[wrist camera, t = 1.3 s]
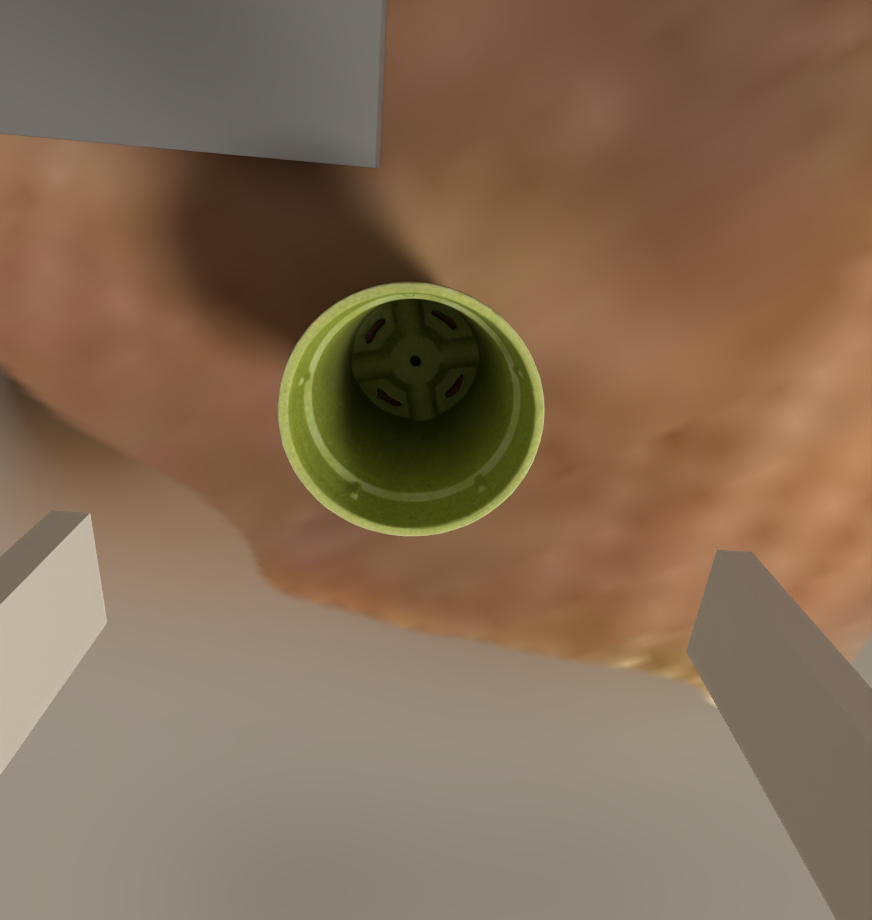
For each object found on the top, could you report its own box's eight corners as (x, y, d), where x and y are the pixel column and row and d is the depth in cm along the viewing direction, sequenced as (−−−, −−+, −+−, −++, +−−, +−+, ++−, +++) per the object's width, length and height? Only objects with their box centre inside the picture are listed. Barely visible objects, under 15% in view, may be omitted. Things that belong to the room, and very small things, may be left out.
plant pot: (278, 384, 31) (229, 457, 23) (382, 209, 28) (367, 223, 20) (440, 480, 33) (446, 576, 25) (552, 328, 30) (599, 384, 22)
